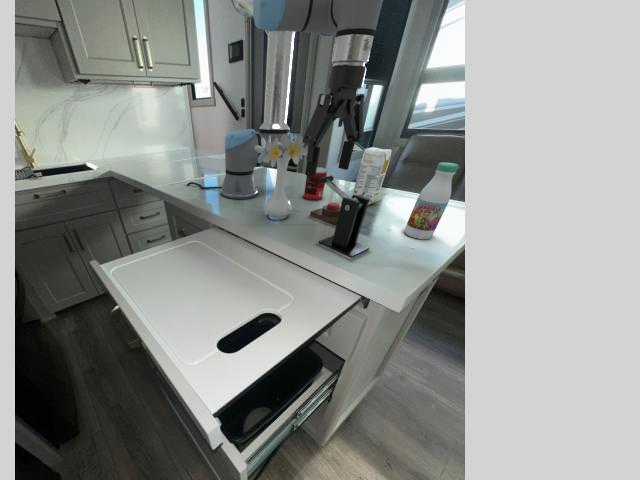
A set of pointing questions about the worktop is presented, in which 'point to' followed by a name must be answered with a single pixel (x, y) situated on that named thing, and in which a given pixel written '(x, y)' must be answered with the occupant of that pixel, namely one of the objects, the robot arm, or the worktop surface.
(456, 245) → the worktop surface
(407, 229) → the milk bottle
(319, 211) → the control block
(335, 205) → the button
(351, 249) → the bracket
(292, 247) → the worktop surface
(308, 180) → the canned food
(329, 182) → the lever
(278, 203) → the flower vase
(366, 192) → the juice carton
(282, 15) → the robot arm
